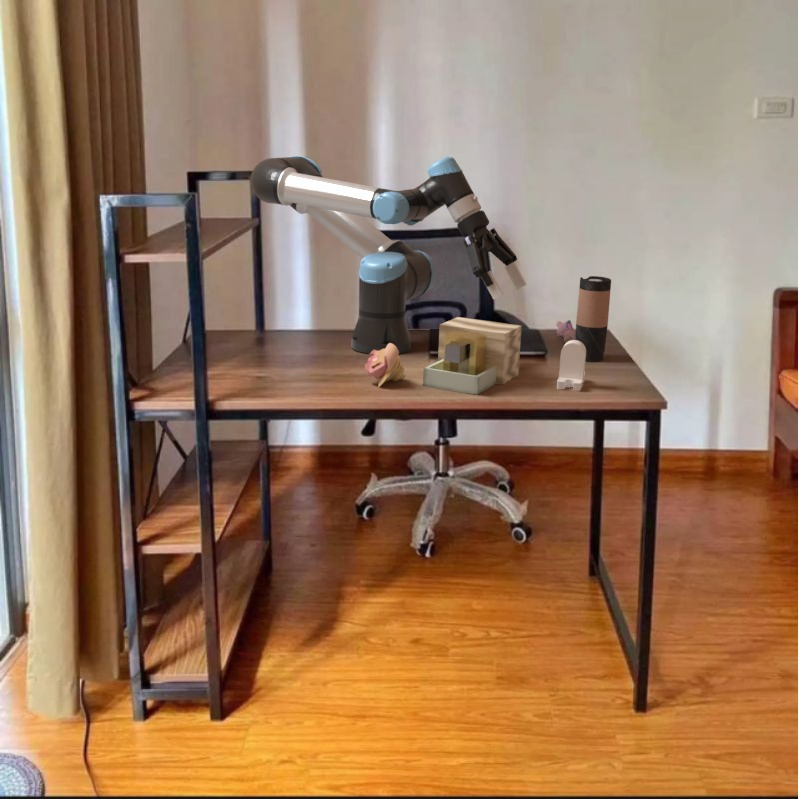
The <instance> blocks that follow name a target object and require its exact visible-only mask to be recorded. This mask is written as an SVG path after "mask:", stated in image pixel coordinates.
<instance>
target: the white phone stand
mask: <svg viewBox="0 0 799 799" xmlns="http://www.w3.org/2000/svg"><path fill="white" fill-rule="evenodd" d="M585 360H586V348H585V346H584V344H583V343H582V342H580V341H578V340H571V341H568V342H567V343H565V344H564V345H563V347H562V349H561V351H560V359H559V371H558V372H559V373H558V378H557V380H556V390H558V389H564V390H565V389H566V388H570V387H573V388H572V391H573V390H581V391H582V389H581V388H583V386H584V384H583V383H585V381H586V379H585V378H586V372H585V370H586V361H585ZM582 385H583V386H582ZM565 387H566V388H565Z"/></svg>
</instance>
